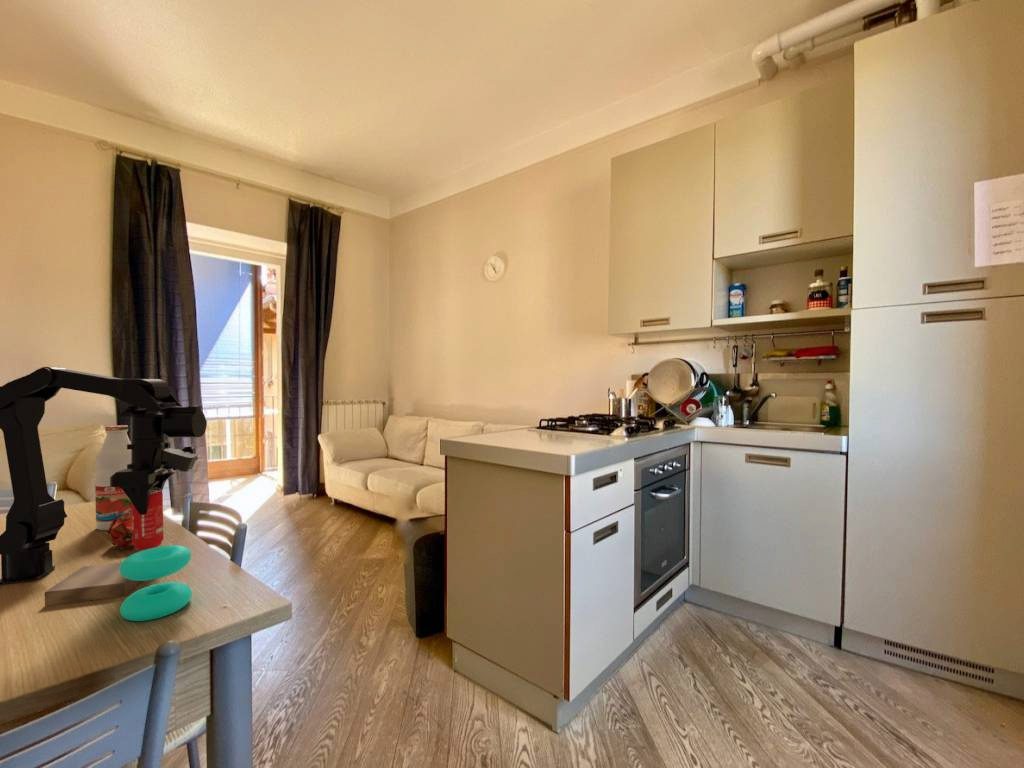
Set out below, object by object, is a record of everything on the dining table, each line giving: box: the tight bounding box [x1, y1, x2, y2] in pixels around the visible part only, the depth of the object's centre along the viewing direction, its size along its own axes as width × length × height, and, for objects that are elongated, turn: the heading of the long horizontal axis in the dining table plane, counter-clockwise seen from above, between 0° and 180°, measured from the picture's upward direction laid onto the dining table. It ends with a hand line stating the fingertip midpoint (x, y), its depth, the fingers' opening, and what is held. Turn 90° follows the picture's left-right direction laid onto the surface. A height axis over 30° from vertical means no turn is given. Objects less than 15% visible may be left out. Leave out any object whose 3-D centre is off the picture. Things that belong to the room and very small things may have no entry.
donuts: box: [119, 544, 193, 622], centre depth 81 cm, size 10×10×10 cm
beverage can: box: [132, 488, 164, 551], centre depth 98 cm, size 5×5×12 cm
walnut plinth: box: [44, 561, 142, 607], centre depth 90 cm, size 12×12×2 cm
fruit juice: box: [94, 424, 132, 531], centre depth 129 cm, size 9×9×28 cm
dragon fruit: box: [106, 513, 134, 550], centre depth 113 cm, size 8×8×12 cm
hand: (148, 510), depth 98 cm, fingers closed on beverage can, 5 cm apart
